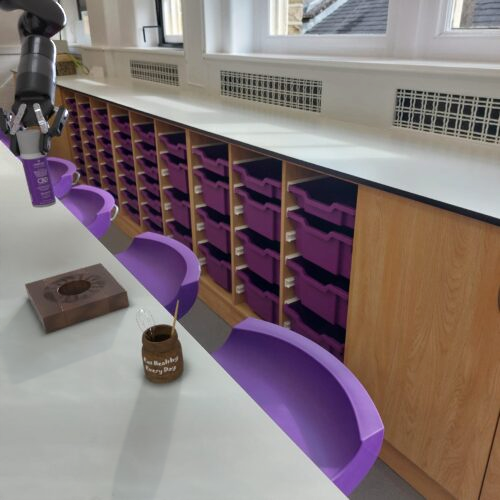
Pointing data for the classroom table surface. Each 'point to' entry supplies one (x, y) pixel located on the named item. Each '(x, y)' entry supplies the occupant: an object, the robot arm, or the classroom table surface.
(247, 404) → the classroom table surface
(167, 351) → the utensil holder
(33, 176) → the container
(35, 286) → the socket plate
